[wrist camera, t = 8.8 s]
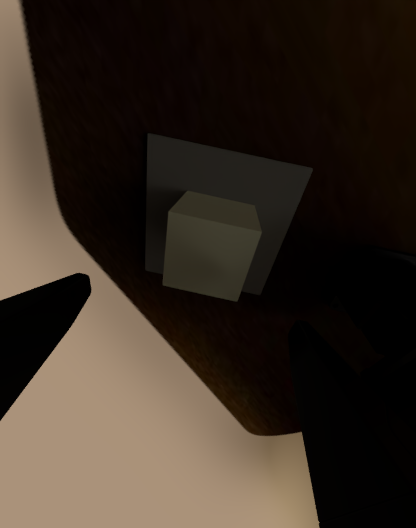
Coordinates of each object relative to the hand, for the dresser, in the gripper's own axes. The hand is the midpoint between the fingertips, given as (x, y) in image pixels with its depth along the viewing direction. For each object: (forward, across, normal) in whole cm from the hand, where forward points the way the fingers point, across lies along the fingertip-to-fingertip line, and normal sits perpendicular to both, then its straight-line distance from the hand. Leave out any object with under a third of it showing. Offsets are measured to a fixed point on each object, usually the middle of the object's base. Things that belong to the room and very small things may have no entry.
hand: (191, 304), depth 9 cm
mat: (+9, 0, 0) cm, 9 cm away
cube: (+9, 0, 0) cm, 9 cm away
